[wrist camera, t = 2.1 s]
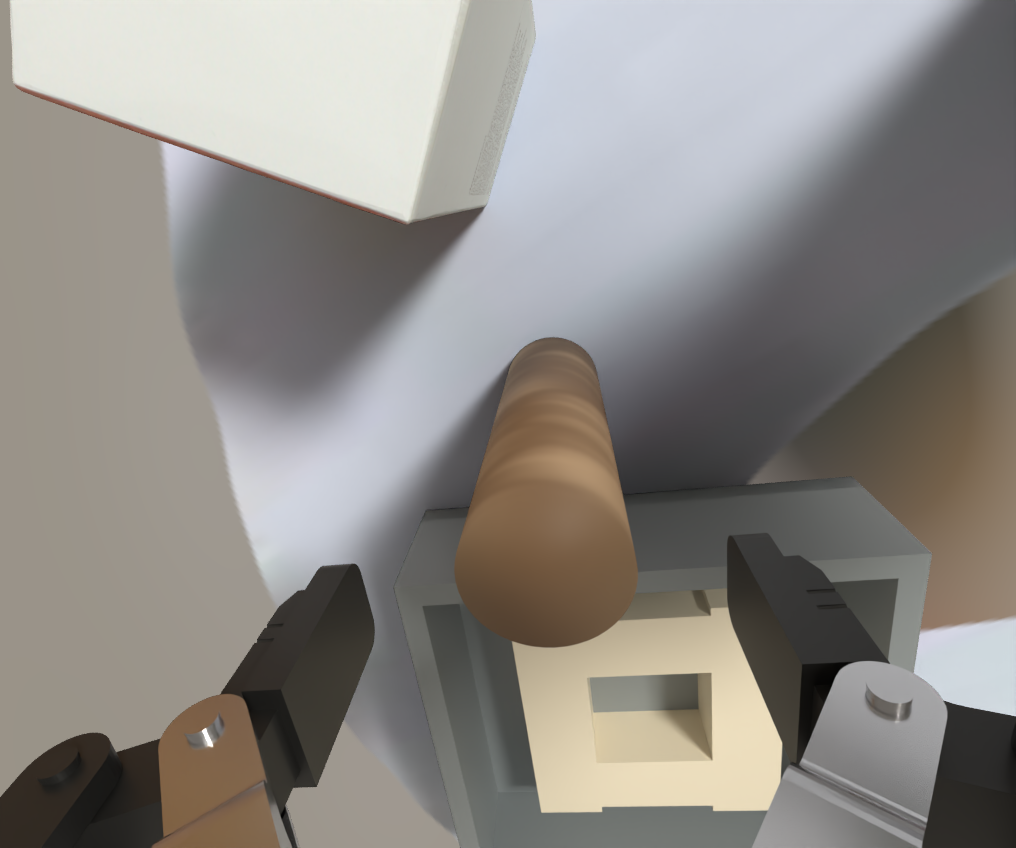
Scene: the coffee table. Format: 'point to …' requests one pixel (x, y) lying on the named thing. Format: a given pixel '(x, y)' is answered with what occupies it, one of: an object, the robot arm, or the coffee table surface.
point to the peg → (548, 508)
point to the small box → (298, 87)
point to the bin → (642, 674)
